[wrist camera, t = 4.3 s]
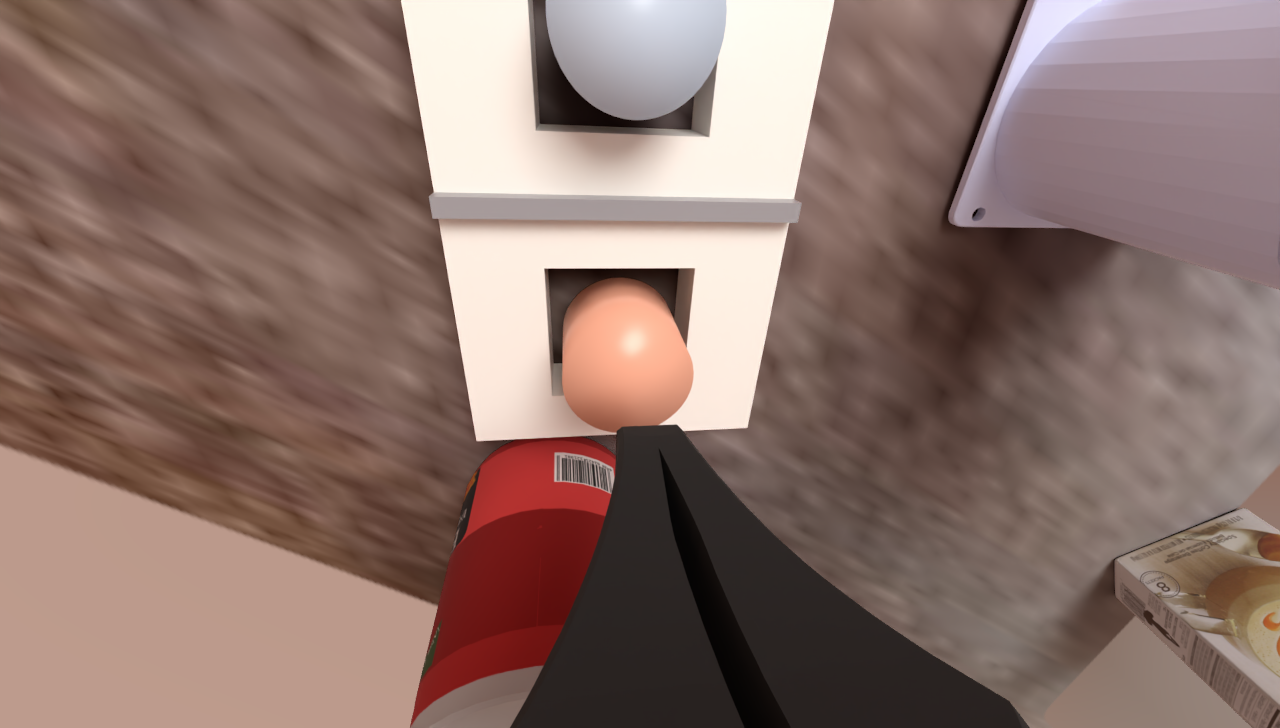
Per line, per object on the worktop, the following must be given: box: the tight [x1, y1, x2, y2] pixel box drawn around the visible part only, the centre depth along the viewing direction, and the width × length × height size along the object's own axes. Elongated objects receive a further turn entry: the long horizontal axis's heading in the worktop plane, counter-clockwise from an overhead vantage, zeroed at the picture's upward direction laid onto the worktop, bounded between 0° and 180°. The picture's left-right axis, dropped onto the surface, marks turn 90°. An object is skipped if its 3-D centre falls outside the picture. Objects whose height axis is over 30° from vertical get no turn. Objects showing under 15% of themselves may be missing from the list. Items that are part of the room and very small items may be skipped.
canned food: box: [410, 436, 616, 728], centre depth 19 cm, size 8×8×11 cm
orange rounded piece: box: [562, 277, 694, 433], centre depth 16 cm, size 4×4×4 cm
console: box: [401, 0, 834, 441], centre depth 15 cm, size 11×18×3 cm, turn 177°
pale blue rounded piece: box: [546, 0, 727, 120], centre depth 12 cm, size 4×4×4 cm
